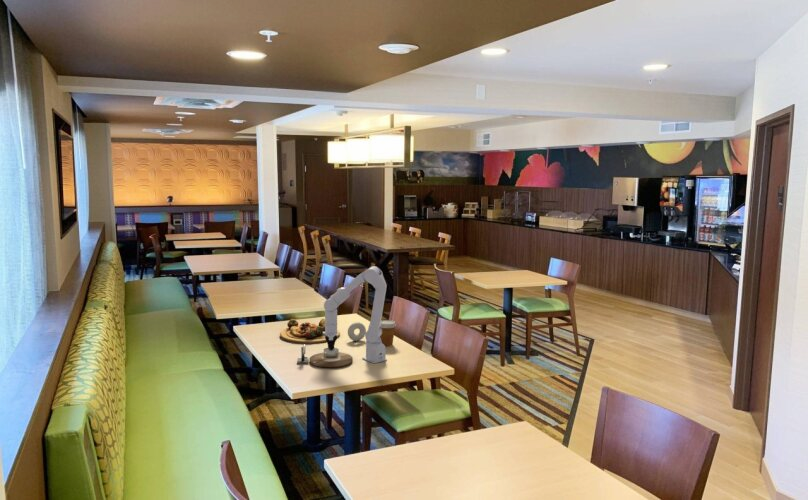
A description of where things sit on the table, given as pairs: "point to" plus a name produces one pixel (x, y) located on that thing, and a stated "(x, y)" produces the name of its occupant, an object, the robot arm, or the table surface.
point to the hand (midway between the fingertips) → (331, 350)
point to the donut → (361, 334)
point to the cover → (331, 352)
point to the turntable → (331, 360)
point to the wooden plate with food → (305, 332)
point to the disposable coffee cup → (387, 332)
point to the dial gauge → (303, 359)
